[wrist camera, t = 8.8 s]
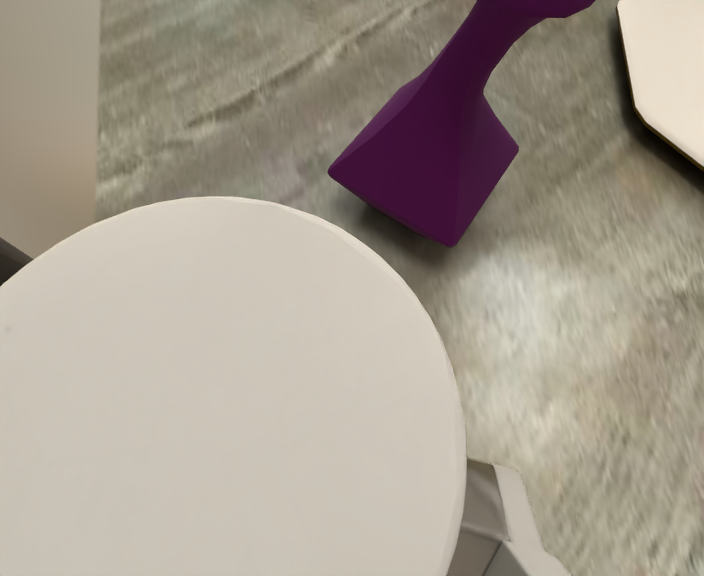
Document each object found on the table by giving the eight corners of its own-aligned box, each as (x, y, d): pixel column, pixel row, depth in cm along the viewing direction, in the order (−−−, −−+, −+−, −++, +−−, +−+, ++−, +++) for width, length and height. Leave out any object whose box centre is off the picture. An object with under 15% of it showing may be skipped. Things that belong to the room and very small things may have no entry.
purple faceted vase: (498, 185, 25) (831, -368, 8) (437, 276, 22) (741, -255, 6) (394, 128, 26) (499, -442, 10) (326, 208, 24) (308, -379, 7)
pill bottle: (172, 413, 14) (-279, 286, 4) (332, 327, 15) (332, 61, 5) (251, 605, 12) (-246, 1510, 2) (425, 485, 13) (733, 579, 3)
